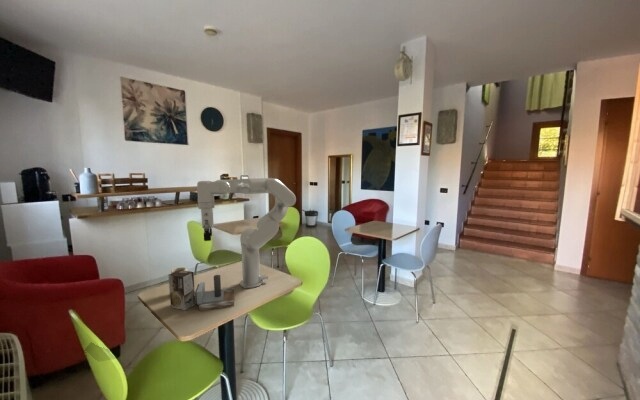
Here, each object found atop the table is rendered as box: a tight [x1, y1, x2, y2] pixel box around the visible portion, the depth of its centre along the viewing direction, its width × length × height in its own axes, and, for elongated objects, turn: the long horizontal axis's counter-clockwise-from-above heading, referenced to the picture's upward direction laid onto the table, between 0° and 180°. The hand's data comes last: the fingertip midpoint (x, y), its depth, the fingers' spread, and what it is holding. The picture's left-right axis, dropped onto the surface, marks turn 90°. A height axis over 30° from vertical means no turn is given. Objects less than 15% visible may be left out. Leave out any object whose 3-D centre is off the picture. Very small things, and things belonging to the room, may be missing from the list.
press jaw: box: [194, 274, 224, 306], centre depth 126 cm, size 12×11×12 cm
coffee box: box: [168, 270, 196, 311], centre depth 123 cm, size 9×6×16 cm
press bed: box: [198, 287, 235, 312], centre depth 128 cm, size 15×15×2 cm
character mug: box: [170, 266, 190, 274], centre depth 135 cm, size 11×7×13 cm, turn 153°
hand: (208, 238), depth 134 cm, fingers open, 9 cm apart
